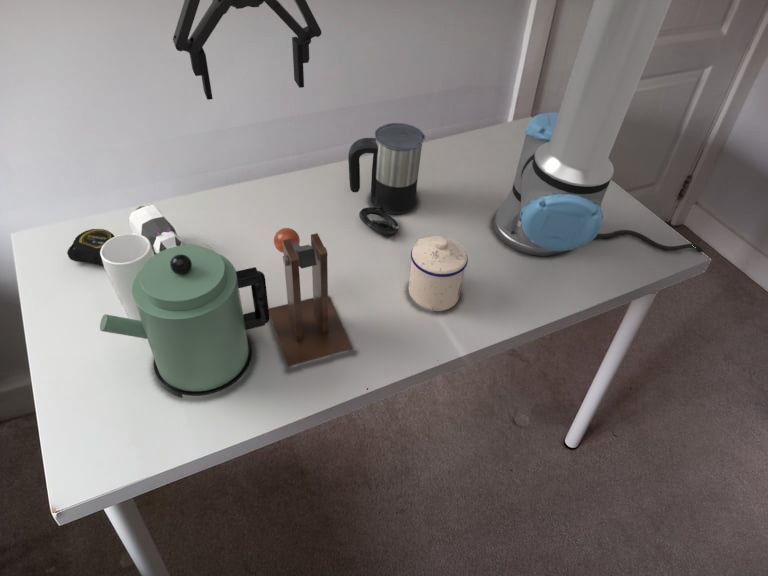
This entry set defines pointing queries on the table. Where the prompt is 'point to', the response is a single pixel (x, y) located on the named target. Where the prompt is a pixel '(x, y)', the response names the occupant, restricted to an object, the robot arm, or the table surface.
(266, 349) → the table surface
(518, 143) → the table surface
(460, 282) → the teacup with lid
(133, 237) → the drinking glass
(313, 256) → the switch lever
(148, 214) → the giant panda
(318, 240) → the switch base
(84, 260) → the tape measure
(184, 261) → the kettle
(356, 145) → the milk frother
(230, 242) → the table surface
